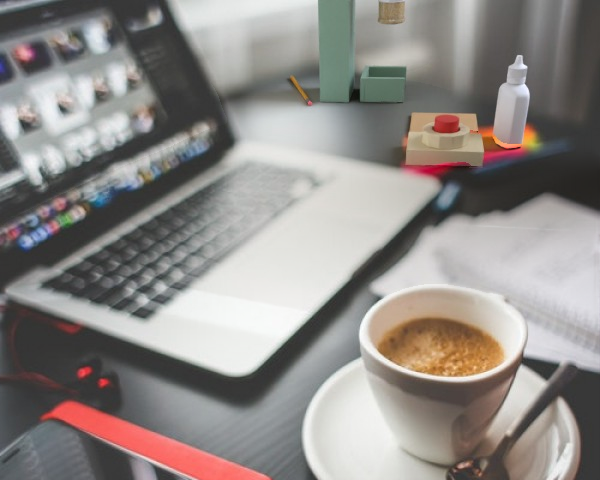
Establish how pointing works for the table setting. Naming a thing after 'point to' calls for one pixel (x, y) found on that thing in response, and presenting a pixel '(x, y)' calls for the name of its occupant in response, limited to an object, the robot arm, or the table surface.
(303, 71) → the table surface
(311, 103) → the pencil
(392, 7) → the sprinkles bottle
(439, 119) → the button
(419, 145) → the button box
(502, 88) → the eye dropper bottle
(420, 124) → the cork mat
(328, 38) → the dock machine
